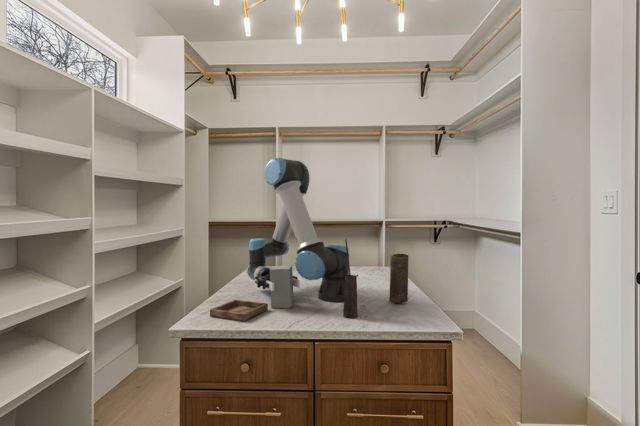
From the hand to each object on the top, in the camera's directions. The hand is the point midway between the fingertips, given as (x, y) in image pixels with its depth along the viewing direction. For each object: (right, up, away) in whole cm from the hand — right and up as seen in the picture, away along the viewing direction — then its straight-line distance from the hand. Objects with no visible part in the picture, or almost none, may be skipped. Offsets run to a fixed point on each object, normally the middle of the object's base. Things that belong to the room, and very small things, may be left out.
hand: (286, 285), depth 135 cm
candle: (+45, -9, +9) cm, 47 cm away
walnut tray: (-17, -9, -5) cm, 20 cm away
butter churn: (+25, -9, -9) cm, 28 cm away
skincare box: (-2, -9, +4) cm, 10 cm away
